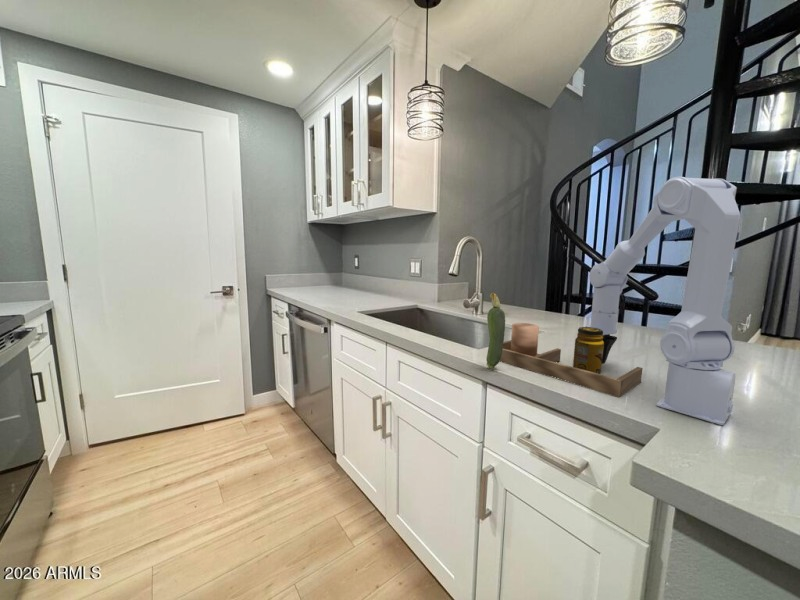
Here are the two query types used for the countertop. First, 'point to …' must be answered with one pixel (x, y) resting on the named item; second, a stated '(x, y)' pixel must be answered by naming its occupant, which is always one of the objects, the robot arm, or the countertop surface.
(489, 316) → the vegetable
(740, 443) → the countertop surface
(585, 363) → the condiment
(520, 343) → the caddy
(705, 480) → the countertop surface
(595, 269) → the robot arm
